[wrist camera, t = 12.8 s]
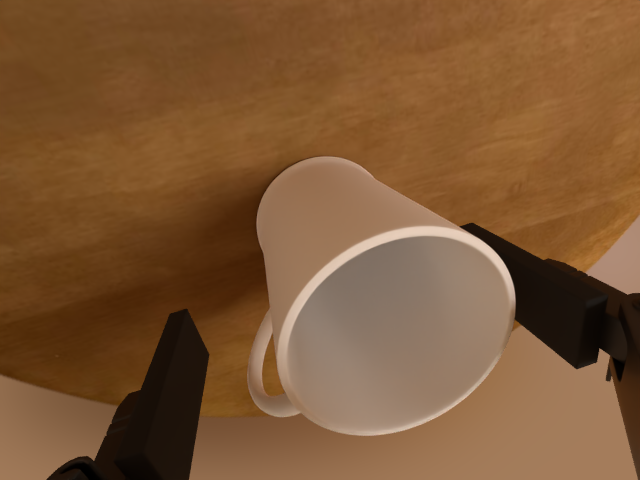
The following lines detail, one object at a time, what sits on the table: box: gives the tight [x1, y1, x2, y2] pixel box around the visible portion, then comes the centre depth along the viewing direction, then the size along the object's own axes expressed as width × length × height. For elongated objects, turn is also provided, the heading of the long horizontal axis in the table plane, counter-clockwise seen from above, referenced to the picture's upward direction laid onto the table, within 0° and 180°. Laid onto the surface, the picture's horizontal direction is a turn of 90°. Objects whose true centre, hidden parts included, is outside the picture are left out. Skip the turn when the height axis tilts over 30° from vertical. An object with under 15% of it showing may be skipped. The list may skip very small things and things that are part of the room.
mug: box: [247, 156, 516, 436], centre depth 16 cm, size 12×8×12 cm
